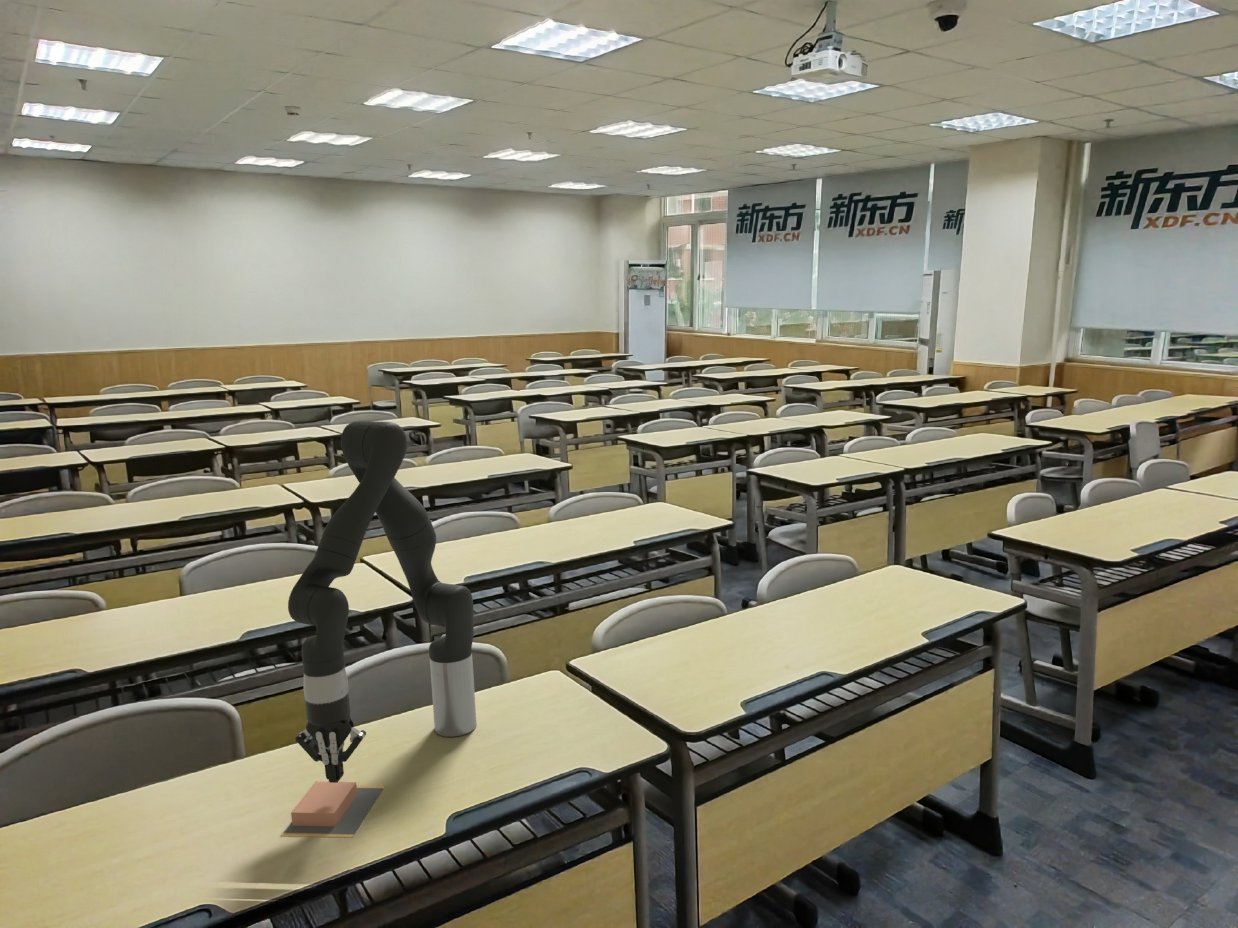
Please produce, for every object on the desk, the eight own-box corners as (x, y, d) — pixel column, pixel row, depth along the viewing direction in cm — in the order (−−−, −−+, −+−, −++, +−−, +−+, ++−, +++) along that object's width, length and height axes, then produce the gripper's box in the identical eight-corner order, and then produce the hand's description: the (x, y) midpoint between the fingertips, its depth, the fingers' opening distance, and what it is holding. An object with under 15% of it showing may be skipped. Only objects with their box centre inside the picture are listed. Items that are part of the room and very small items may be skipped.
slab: (357, 794, 156) (316, 793, 157) (356, 782, 156) (315, 781, 156) (335, 826, 146) (292, 825, 147) (334, 813, 146) (291, 812, 146)
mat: (320, 787, 160) (320, 784, 160) (385, 788, 159) (385, 785, 159) (281, 838, 144) (280, 835, 144) (352, 840, 143) (352, 837, 143)
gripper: (370, 683, 150) (377, 769, 153) (301, 682, 151) (309, 768, 154) (353, 702, 143) (362, 792, 146) (281, 701, 144) (291, 791, 147)
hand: (335, 780), depth 150 cm, fingers closed
